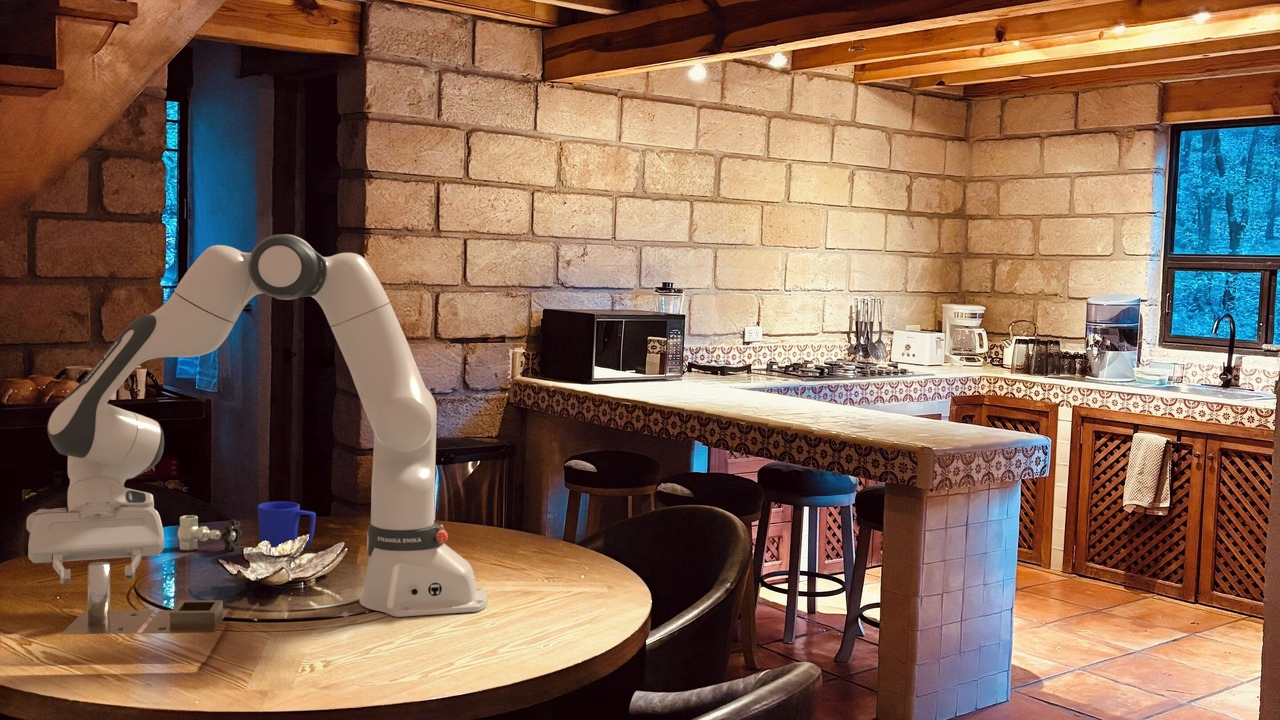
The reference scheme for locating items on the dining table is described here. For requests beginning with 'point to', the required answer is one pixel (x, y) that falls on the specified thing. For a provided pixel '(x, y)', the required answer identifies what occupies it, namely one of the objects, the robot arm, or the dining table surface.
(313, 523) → the mug
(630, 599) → the dining table surface
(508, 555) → the dining table surface
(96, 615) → the pin
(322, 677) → the dining table surface
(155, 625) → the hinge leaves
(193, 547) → the valve
